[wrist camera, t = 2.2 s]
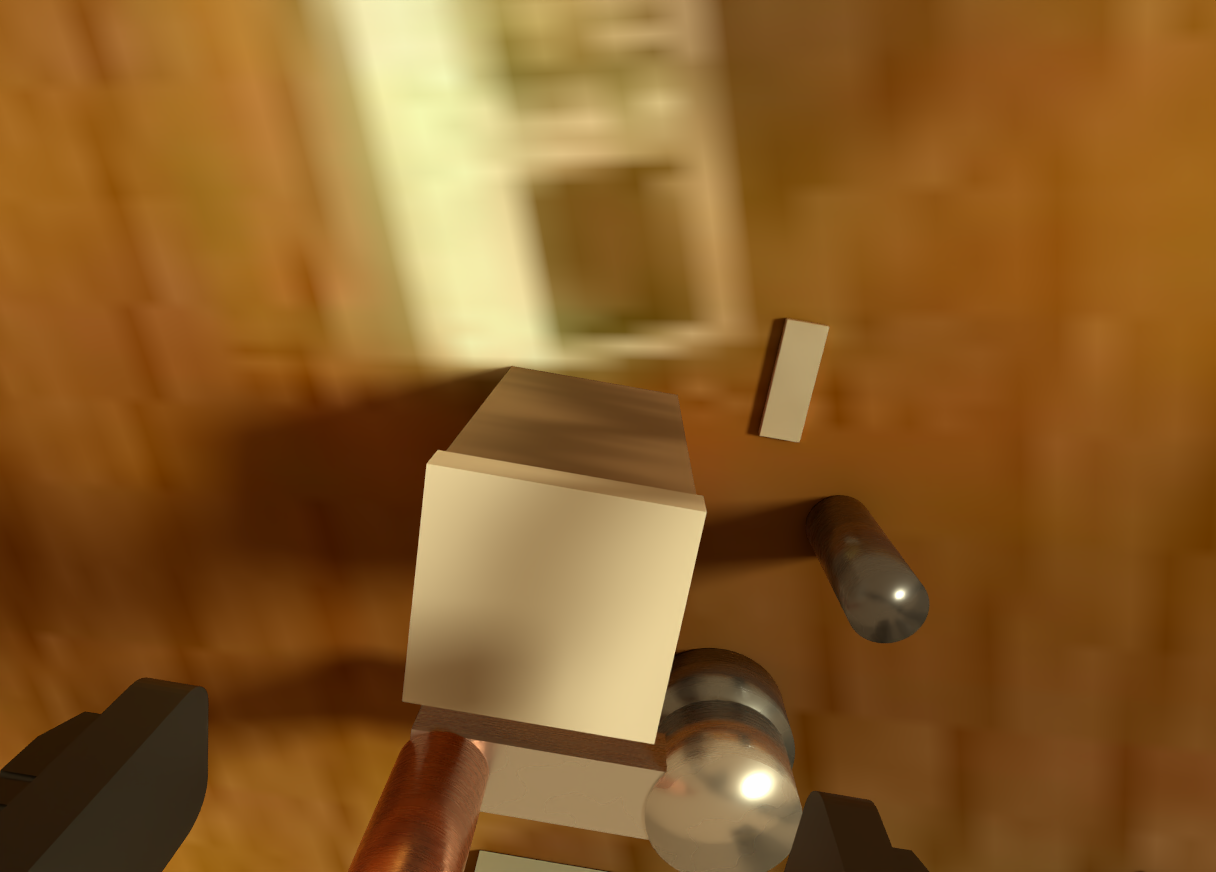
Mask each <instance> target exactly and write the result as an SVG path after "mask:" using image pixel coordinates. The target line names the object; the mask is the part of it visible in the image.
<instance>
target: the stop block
mask: <svg viewBox="0 0 1216 872" xmlns="http://www.w3.org/2000/svg"><path fill="white" fill-rule="evenodd" d="M706 513H707V511H706V507H705V502H704V497H703V496H700V495H696V491H695V486H694V481H693V475H692V470H691V465H690V459H689V454H688V449H687V443H686V438H685V433H684V427H683V422H682V417H681V411H680V406H679V401H678V396H677V395H674V394H668V393H662V392H657V391H651V390H645V389H640V388H634V387H628V386H622V385H617V384H611V383H605V382H600V381H594V380H588V379H583V378H577V377H571V376H565V375H560V374H554V373H548V372H543V371H537V370H531V369H525V368H520V367H514V366H512V367H511V368H510V369H509V370H508V372H507V373H506V374H505V376H504V377H503V378H502V379H501V381H500V382H499V383H498V385H497V386H496V387H495V388H494V390H493V391H492V392H491V394H490V395H489V396H488V397H487V399H486V400H485V401H484V403H483V404H482V405H481V406H480V408H479V409H478V410H477V412H476V413H475V414H474V416H473V417H472V418H471V419H470V421H469V422H468V423H467V425H466V426H465V427H464V428H463V430H462V431H461V432H460V434H459V435H458V436H457V437H456V439H455V440H454V441H453V443H452V444H451V445H450V446H449V448H448V449H447V450H446V451H441V450H437V451H436V453H435V454H434V455H433V456H432V458H431V459H430V460H429V461H428V463H427V465H426V475H425V484H424V494H423V504H422V513H421V523H420V533H419V542H418V552H417V562H416V571H415V581H414V591H413V600H412V610H411V620H410V629H409V639H408V649H407V658H406V668H405V678H404V687H403V697H402V702H408V703H414V704H420V705H426V706H432V707H438V708H443V709H449V710H455V711H461V712H467V713H473V714H479V715H485V716H490V717H496V718H502V719H508V720H514V721H520V722H526V723H532V724H538V725H543V726H549V727H555V728H561V729H567V730H573V731H579V732H585V733H591V734H596V735H602V736H608V737H614V738H620V739H626V740H632V741H638V742H643V743H649V744H654V743H655V738H656V734H657V730H658V725H659V721H660V716H661V712H662V707H663V703H664V699H665V694H666V690H667V685H668V681H669V676H670V672H671V668H672V663H673V659H674V654H675V650H676V645H677V641H678V637H679V632H680V628H681V623H682V619H683V615H684V610H685V606H686V601H687V597H688V592H689V588H690V584H691V579H692V575H693V570H694V566H695V561H696V557H697V553H698V548H699V544H700V539H701V535H702V530H703V526H704V522H705V517H706Z"/></svg>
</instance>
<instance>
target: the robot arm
mask: <svg viewBox="0 0 1216 872" xmlns="http://www.w3.org/2000/svg"><path fill="white" fill-rule="evenodd" d="M207 779H208V694H207V692H206V690H205V689H204V688H203V687H200V686H194V685H188V684H182V683H176V682H170V681H164V680H158V679H152V678H141V679H139V680H137V681H136V682H134V683H133V684H132V685H131V686H130V687H129V688H128V689H127V690H126V691H125V692H124V693H123V694H121V695H120V696H119V697H118V698H117V699H116V700H115V701H114V702H113V703H112V704H111V705H110V706H109V707H108V708H107V709H106V710H105V711H104V712H103V713H102V714H97V713H91V712H83V713H81V714H79V715H78V716H76V717H74V718H72V719H70V720H68V721H66V722H64V723H63V724H61V725H59V726H57V727H55V728H53V729H51V730H49V731H48V732H46V733H44V734H42V735H40V736H38V737H37V738H36V739H35V740H33V741H32V742H31V743H30V744H29V745H28V746H27V747H26V748H25V749H23V750H22V751H21V752H20V753H19V754H18V755H17V756H16V757H15V758H14V759H12V760H11V761H10V762H9V763H8V764H7V765H6V766H5V767H4V768H2V769H1V771H0V872H162V871H163V869H164V868H165V867H166V865H167V864H168V862H169V861H170V860H171V858H172V857H173V855H174V854H175V852H176V851H177V850H178V848H179V847H180V845H181V844H182V842H183V841H184V840H185V838H186V837H187V835H188V834H189V832H190V830H191V829H192V827H193V825H194V823H195V821H196V819H197V817H198V814H199V812H200V809H201V807H202V804H203V800H204V797H205V793H206V788H207ZM784 872H929V871H928V870H927V868H926V867H925V866H924V865H923V864H922V862H921V861H920V860H919V859H918V858H917V856H916V855H915V854H914V853H913V852H912V851H911V850H905V849H899V848H893V847H892V846H891V843H890V840H889V838H888V835H887V833H886V830H885V828H884V825H883V823H882V820H881V818H880V815H879V812H878V810H877V808H876V806H875V805H874V803H873V802H872V801H870V800H867V799H861V798H855V797H849V796H843V795H837V794H831V793H825V792H819V791H813V792H811V793H810V795H809V796H808V798H807V801H806V803H805V806H804V809H803V813H802V816H801V819H800V822H799V826H798V829H797V832H796V835H795V838H794V842H793V845H792V848H791V851H790V854H789V858H788V861H787V864H786V867H785V870H784Z"/></svg>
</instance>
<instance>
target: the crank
mask: <svg viewBox="0 0 1216 872" xmlns="http://www.w3.org/2000/svg"><path fill="white" fill-rule="evenodd" d="M480 811H482V812H488V813H493V814H499V815H505V816H511V817H517V818H523V819H529V820H535V821H541V822H547V823H553V824H559V825H565V826H570V827H576V828H582V829H588V830H594V831H600V832H606V833H612V834H618V835H624V836H630V837H636V838H642V839H648V840H650V842H651V844H652V846H653V848H654V849H655V850H656V852H657V853H658V854H659V855H660V856H661V857H662V858H663V859H664V860H665V861H666V862H667V863H668V864H670V865H671V866H672V867H674V868H675V869H677V870H679V871H680V872H766V871H768V870H770V869H772V868H773V867H775V866H776V865H777V864H779V863H780V862H781V861H782V860H783V859H784V858H785V857H787V856H788V854H789V853H790V851H791V848H792V845H793V842H794V838H795V835H796V832H797V829H798V826H799V822H800V819H801V816H802V808H801V804H800V800H799V796H798V793H797V789H796V785H795V781H794V777H793V774H792V770H791V766H790V762H789V759H788V755H787V751H786V747H785V744H784V741H783V738H782V736H781V734H780V733H779V731H778V729H777V728H776V727H775V725H774V724H773V723H772V722H771V721H770V720H769V719H768V718H767V717H765V716H764V715H763V714H761V713H760V712H758V711H757V710H755V709H753V708H751V707H749V706H746V705H743V704H740V703H736V702H732V701H724V700H708V701H700V702H696V703H692V704H689V705H686V706H684V707H682V708H679V709H677V710H675V711H674V712H672V713H671V714H669V715H668V716H667V717H666V718H664V719H663V720H662V721H661V722H660V723H659V725H658V730H657V734H656V738H655V743H654V744H649V743H643V742H638V741H632V740H626V739H620V738H614V737H608V736H602V735H596V734H591V733H585V732H579V731H573V730H567V729H561V728H555V727H549V726H543V725H538V724H532V723H526V722H520V721H514V720H508V719H502V718H496V717H490V716H485V715H479V714H473V713H467V712H461V711H455V710H449V709H443V708H438V707H432V706H426V705H422V706H421V708H420V710H419V713H418V715H417V717H416V720H415V722H414V724H413V727H412V729H411V738H410V741H408V742H407V743H406V744H405V745H404V747H403V748H402V750H401V751H400V753H399V756H398V758H397V760H396V762H395V765H394V767H393V769H392V772H391V774H390V776H389V778H388V781H387V783H386V785H385V788H384V790H383V792H382V795H381V797H380V799H379V801H378V804H377V806H376V808H375V811H374V813H373V815H372V817H371V820H370V822H369V824H368V827H367V829H366V831H365V833H364V836H363V838H362V840H361V843H360V845H359V847H358V849H357V852H356V854H355V856H354V859H353V861H352V863H351V866H350V868H349V870H348V872H464V869H465V866H466V862H467V858H468V854H469V850H470V847H471V843H472V839H473V835H474V831H475V828H476V824H477V820H478V816H479V813H480Z"/></svg>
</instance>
